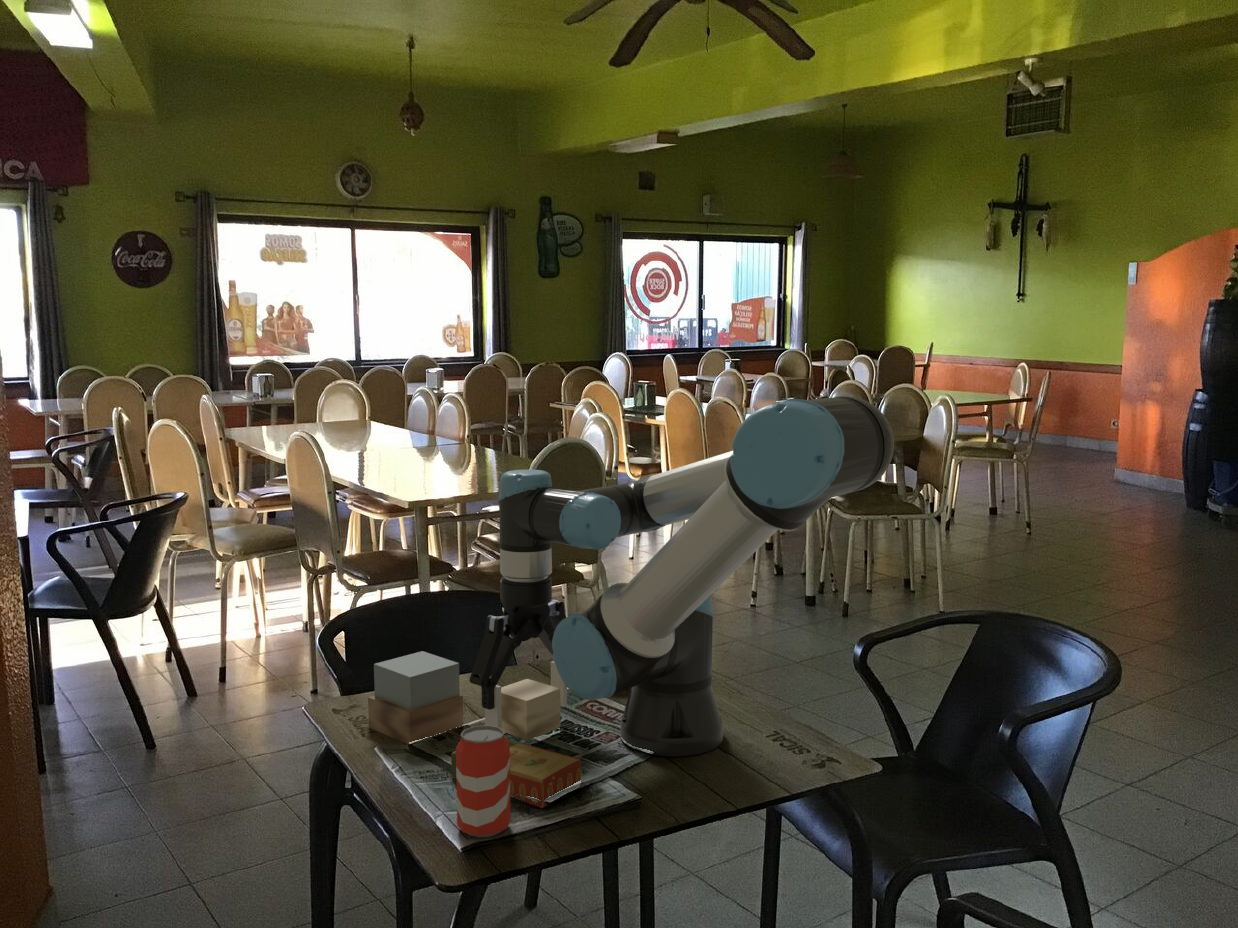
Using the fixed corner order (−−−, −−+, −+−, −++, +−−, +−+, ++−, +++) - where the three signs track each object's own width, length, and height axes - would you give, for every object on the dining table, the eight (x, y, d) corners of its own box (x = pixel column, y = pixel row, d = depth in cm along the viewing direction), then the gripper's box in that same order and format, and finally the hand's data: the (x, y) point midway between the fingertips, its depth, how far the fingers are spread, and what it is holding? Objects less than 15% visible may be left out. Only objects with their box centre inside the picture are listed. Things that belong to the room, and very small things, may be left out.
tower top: (459, 695, 165) (459, 663, 164) (410, 710, 158) (410, 677, 158) (423, 681, 171) (422, 650, 170) (374, 695, 165) (373, 663, 164)
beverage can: (452, 839, 129) (450, 741, 127) (466, 815, 135) (465, 722, 134) (502, 842, 128) (501, 744, 127) (514, 818, 134) (513, 724, 133)
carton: (542, 811, 137) (541, 778, 137) (449, 780, 147) (448, 750, 146) (582, 788, 144) (582, 757, 143) (491, 760, 153) (491, 731, 153)
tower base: (463, 727, 166) (462, 695, 165) (410, 745, 158) (409, 712, 157) (421, 711, 172) (421, 681, 171) (368, 729, 165) (368, 697, 164)
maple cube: (560, 733, 163) (560, 688, 162) (527, 747, 157) (526, 700, 156) (527, 722, 167) (527, 678, 166) (493, 735, 162) (493, 690, 161)
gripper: (566, 558, 171) (566, 689, 174) (442, 587, 152) (445, 733, 155) (602, 565, 166) (601, 700, 169) (479, 595, 147) (481, 746, 150)
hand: (527, 716), depth 162 cm, fingers open, 13 cm apart
